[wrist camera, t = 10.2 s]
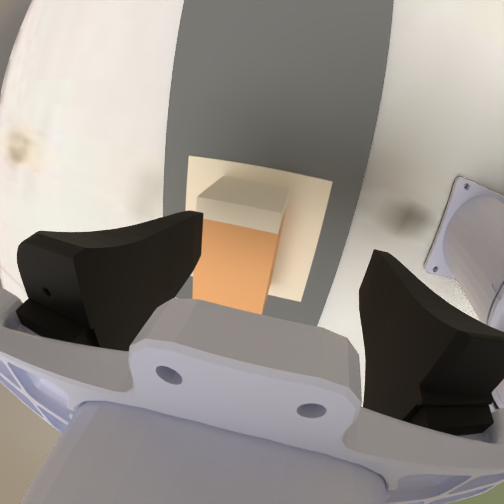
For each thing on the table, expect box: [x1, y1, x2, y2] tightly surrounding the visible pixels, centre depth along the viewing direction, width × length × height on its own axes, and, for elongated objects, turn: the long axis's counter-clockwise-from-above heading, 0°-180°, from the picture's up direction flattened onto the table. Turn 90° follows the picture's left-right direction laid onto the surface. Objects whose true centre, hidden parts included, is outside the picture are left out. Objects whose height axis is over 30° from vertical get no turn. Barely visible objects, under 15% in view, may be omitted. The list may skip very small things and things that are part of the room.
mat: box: [163, 0, 393, 326], centre depth 18 cm, size 14×32×1 cm, turn 172°
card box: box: [192, 175, 290, 315], centre depth 19 cm, size 8×5×5 cm, turn 172°
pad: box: [185, 155, 333, 302], centre depth 21 cm, size 10×10×1 cm
